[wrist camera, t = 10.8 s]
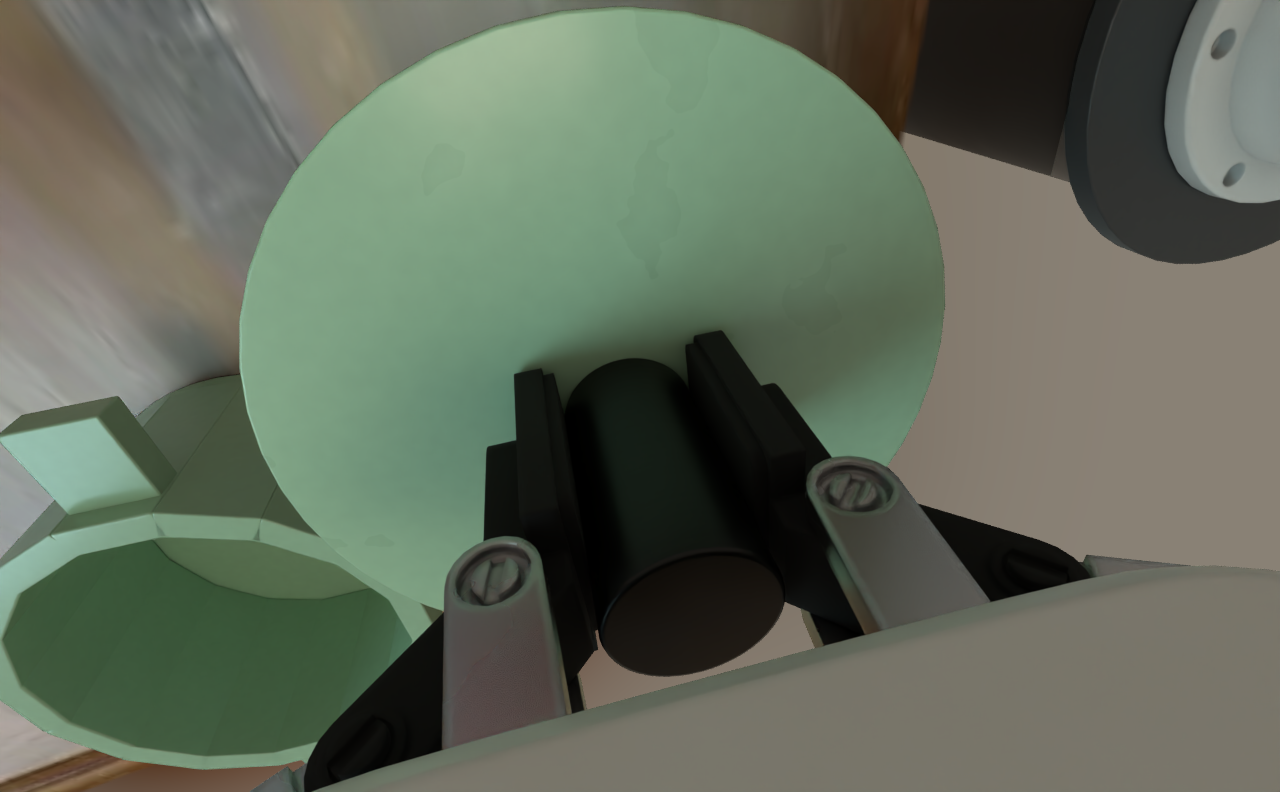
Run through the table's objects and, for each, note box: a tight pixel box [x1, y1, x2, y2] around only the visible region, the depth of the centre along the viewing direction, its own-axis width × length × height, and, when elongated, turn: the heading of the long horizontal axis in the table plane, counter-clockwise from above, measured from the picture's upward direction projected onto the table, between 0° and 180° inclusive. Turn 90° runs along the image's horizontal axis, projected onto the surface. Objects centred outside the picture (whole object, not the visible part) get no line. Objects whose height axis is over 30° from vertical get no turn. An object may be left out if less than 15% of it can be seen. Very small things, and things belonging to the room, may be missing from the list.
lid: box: [239, 6, 945, 677], centre depth 10 cm, size 14×14×6 cm
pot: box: [0, 374, 442, 770], centre depth 22 cm, size 13×18×8 cm
